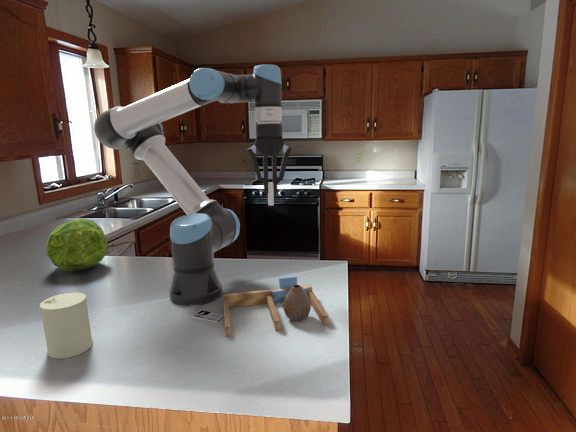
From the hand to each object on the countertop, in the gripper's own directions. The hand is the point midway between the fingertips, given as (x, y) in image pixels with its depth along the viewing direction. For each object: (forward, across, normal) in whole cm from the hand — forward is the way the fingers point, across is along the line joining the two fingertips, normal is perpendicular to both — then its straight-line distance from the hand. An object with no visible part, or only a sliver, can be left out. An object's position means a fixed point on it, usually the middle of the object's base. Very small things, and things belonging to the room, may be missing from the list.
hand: (271, 204), depth 119 cm
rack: (+25, -2, -20) cm, 33 cm away
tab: (+25, +4, -10) cm, 27 cm away
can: (+26, -48, -29) cm, 62 cm away
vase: (+26, +4, -23) cm, 35 cm away
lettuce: (+27, -69, +30) cm, 80 cm away
